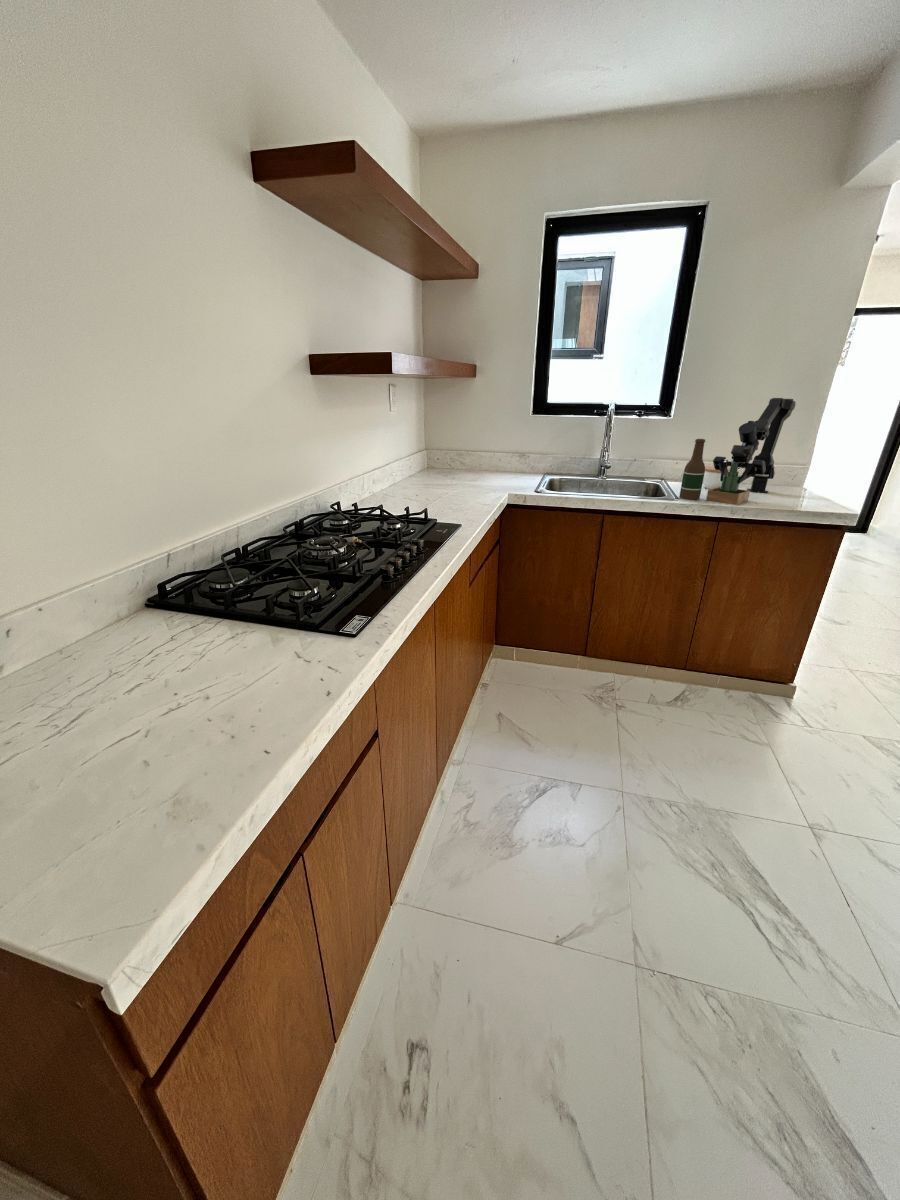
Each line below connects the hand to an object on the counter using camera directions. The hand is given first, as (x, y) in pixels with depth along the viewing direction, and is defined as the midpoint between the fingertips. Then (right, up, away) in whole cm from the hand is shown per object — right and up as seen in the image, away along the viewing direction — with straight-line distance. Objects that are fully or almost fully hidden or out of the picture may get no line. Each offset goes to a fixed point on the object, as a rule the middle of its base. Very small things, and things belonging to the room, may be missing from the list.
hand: (729, 481), depth 200 cm
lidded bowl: (+10, +4, +32) cm, 34 cm away
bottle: (+1, -7, +4) cm, 8 cm away
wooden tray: (+1, -7, +4) cm, 8 cm away
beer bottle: (-13, -6, +8) cm, 16 cm away
